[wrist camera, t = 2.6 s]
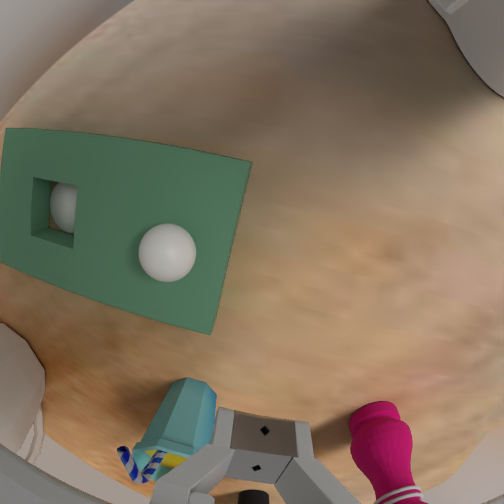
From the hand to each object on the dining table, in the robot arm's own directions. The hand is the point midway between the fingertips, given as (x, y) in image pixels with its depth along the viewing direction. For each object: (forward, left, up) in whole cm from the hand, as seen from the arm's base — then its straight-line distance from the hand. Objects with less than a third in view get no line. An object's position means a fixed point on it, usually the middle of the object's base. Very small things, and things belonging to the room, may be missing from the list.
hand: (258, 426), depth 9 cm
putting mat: (0, -15, -17) cm, 23 cm away
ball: (0, -7, -12) cm, 14 cm away
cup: (+17, -4, -18) cm, 25 cm away
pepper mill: (+17, +18, -18) cm, 30 cm away
